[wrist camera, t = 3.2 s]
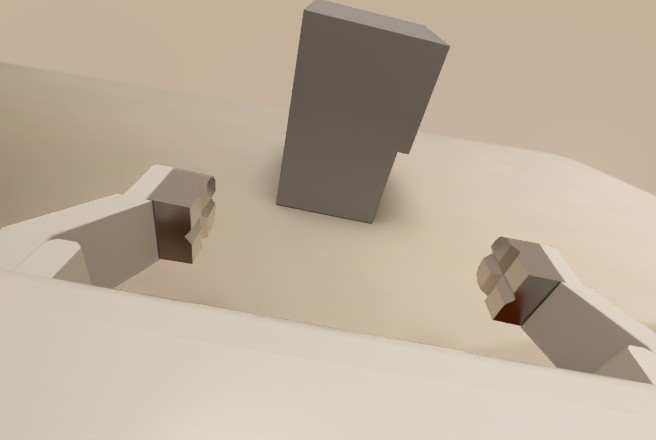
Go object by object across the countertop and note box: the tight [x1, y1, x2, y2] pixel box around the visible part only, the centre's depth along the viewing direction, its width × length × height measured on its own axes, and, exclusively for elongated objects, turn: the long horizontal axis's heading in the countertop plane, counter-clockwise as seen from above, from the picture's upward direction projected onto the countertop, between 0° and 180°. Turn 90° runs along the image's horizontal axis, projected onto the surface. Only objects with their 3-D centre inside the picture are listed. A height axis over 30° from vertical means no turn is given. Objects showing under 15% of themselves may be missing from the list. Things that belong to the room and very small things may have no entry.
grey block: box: [276, 0, 450, 223], centre depth 20 cm, size 6×6×10 cm
